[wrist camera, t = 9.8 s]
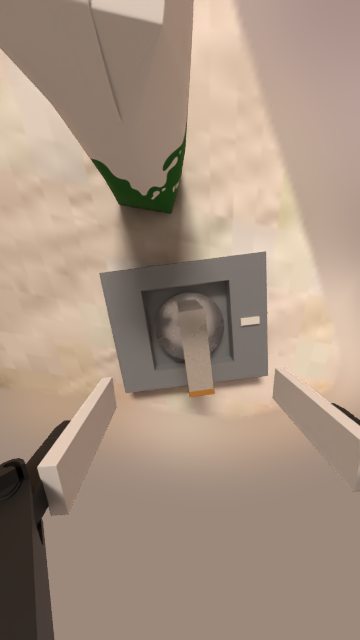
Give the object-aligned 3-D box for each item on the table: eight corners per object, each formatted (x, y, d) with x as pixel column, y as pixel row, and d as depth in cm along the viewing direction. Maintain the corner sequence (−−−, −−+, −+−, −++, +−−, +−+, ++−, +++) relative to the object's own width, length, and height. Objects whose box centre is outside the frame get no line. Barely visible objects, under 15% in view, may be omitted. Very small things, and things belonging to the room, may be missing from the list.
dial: (151, 297, 25) (133, 307, 15) (218, 287, 25) (247, 291, 15) (161, 359, 27) (152, 405, 17) (224, 350, 27) (252, 392, 17)
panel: (130, 383, 29) (125, 394, 26) (106, 274, 25) (98, 273, 22) (260, 367, 29) (268, 376, 26) (257, 254, 25) (267, 251, 22)
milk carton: (116, 133, 21) (-540, -1476, 2) (188, 147, 22) (284, -1026, 2) (112, 211, 23) (-236, -169, 4) (177, 222, 24) (182, -62, 4)
